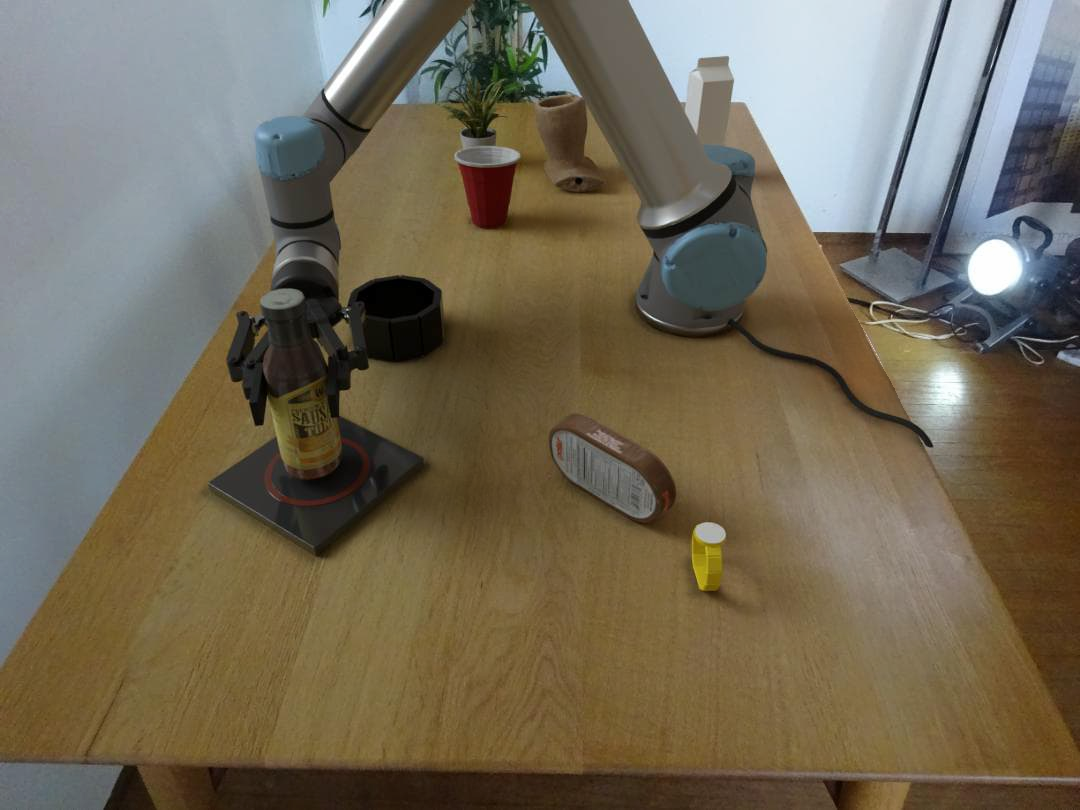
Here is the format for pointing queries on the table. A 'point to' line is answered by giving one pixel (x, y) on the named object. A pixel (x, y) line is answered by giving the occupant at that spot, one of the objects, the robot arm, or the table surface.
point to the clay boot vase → (567, 143)
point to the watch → (708, 555)
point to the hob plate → (318, 487)
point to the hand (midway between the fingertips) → (295, 410)
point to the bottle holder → (404, 333)
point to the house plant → (476, 115)
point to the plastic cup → (488, 182)
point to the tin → (612, 467)
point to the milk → (710, 99)
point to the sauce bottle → (298, 388)
